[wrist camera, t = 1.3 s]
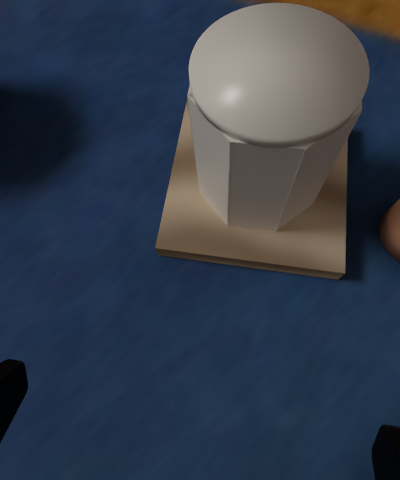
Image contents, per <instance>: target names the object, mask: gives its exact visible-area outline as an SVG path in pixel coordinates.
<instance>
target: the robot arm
mask: <svg viewBox="0 0 400 480" xmlns="http://www.w3.org/2000/svg"><path fill="white" fill-rule="evenodd" d="M27 389H28V381H27V375H26V369H25V364H24V363H23V362H22V361H18V360H12V359H8V360H5V361H3V362H1V363H0V443H1V441H2V439H3V437H4V435H5V433H6V431H7V429H8V427H9V426H10V424H11V422H12V420H13V418H14V416H15V414H16V412H17V410H18V408H19V406H20V404H21V403H22V401H23V399H24V397H25V395H26V392H27ZM372 462H373V468H374V474H375V480H400V427H397V426H391V425H382V426H381V427H380V429H379V431H378V434H377V436H376V439H375V442H374V444H373V447H372Z"/></svg>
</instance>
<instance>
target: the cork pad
mask: <svg viewBox="0 0 400 480" xmlns="http://www.w3.org/2000/svg"><path fill="white" fill-rule="evenodd" d="M347 151H348V138H347V140H346V142H345V144H344V146H343V148H342V150H341V152H340V154H339V155H338V157H337V159H336V161H335V163H334V165H333V167H332V169H331V171H330V173H329V174H328V176H327V178H326V180H325V182H324V184H323V186H322V188H321V190H320V192H319V193H318V195H317V197H316V199H315V201H314V203H313V205H311V206H310V207H309V208H307V209H306V210H305V211H303V212H302V213H300V214H299V215H298V216H296V217H295V218H294V219H292V220H291V221H289V222H288V223H287V224H285V225H284V226H282V227H281V228H280V229H278V230H277V231H276V232H275V231H267V230H259V229H251V228H243V227H234V226H227V225H226V223H225V222H224V221H223V220H222V219H221V217H220V216H219V215H218V214H217V213H216V211H215V210H214V209H213V208H212V207H211V205H210V204H209V203H208V202H207V201H206V199H205V198H204V197H203V196H202V195H201V193H200V192H199V187H198V179H197V171H196V163H195V155H194V147H193V139H192V131H191V123H190V115H189V107H188V102H187V103H186V107H185V112H184V117H183V121H182V126H181V131H180V135H179V140H178V145H177V149H176V154H175V159H174V163H173V168H172V172H171V177H170V182H169V186H168V191H167V196H166V200H165V205H164V210H163V214H162V219H161V224H160V228H159V233H158V237H157V242H156V247H155V249H156V251H157V252H158V254H159V255H160V256H168V257H175V258H182V259H190V260H197V261H204V262H212V263H219V264H226V265H234V266H241V267H249V268H256V269H263V270H271V271H278V272H285V273H293V274H300V275H307V276H315V277H322V278H330V279H337V280H338V279H339V278H340V277H342V276H343V275H344V274H345V257H346V204H347Z"/></svg>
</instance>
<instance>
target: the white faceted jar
mask: <svg viewBox="0 0 400 480" xmlns="http://www.w3.org/2000/svg"><path fill="white" fill-rule="evenodd" d="M189 80H190V86H189V91H188V96H187V99H188V107H189V115H190V123H191V131H192V139H193V147H194V155H195V163H196V171H197V179H198V187H199V192H200V193H201V195H202V196H203V197H204V198H205V199H206V201H207V202H208V203H209V204H210V205H211V207H212V208H213V209H214V210H215V211H216V213H217V214H218V215H219V216H220V217H221V219H222V220H223V221H224V222H225V223H226V225H227V226H234V227H243V228H251V229H259V230H267V231H275V232H276V231H277V230H278V229H280V228H281V227H282V226H284V225H285V224H287V223H288V222H289V221H291V220H292V219H294V218H295V217H296V216H298V215H299V214H300V213H302V212H303V211H305V210H306V209H307V208H309V207H310V206H311V205H313V203H314V201H315V199H316V197H317V195H318V193H319V192H320V190H321V188H322V186H323V184H324V182H325V180H326V178H327V176H328V174H329V173H330V171H331V169H332V167H333V165H334V163H335V161H336V159H337V157H338V155H339V154H340V152H341V150H342V148H343V146H344V144H345V142H346V140H347V138H348V137H349V135H350V133H351V131H352V129H353V127H354V125H355V123H356V121H357V119H358V118H359V116H360V114H361V112H362V98H363V96H364V94H365V92H366V89H367V85H368V81H369V63H368V59H367V55H366V53H365V50H364V48H363V46H362V44H361V43H360V41H359V40H358V38H357V37H356V36H355V35H354V34H353V32H352V31H351V30H350V29H349V28H347V27H346V26H345V25H344V24H343V23H341V22H340V21H338V20H337V19H335V18H334V17H332V16H330V15H328V14H326V13H324V12H321V11H319V10H316V9H313V8H310V7H306V6H302V5H296V4H288V3H267V4H259V5H253V6H249V7H246V8H242V9H239V10H237V11H234V12H232V13H230V14H228V15H226V16H224V17H222V18H221V19H219V20H218V21H216V22H215V23H214V24H212V25H211V26H210V27H209V28H208V29H207V30H206V31H205V32H204V33H203V34H202V35H201V37H200V38H199V40H198V41H197V42H196V44H195V46H194V48H193V51H192V54H191V57H190V62H189Z"/></svg>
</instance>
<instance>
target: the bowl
mask: <svg viewBox="0 0 400 480" xmlns="http://www.w3.org/2000/svg"><path fill="white" fill-rule="evenodd" d="M379 235H380V239H381V242H382V244H383V246H384V248H385V249H386V251H387V252H388V253H389V254H390V255H391V256H392V257H393V258H394V259H396V260H397V261H399V262H400V199H399V200H398V201H397V202H396V203H395V204H394V205H393V206H392V207H391V208H390V209H389V210H388V211H387V212H386V213H385V214H384V215H383V217H382V219H381V221H380V224H379Z"/></svg>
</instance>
